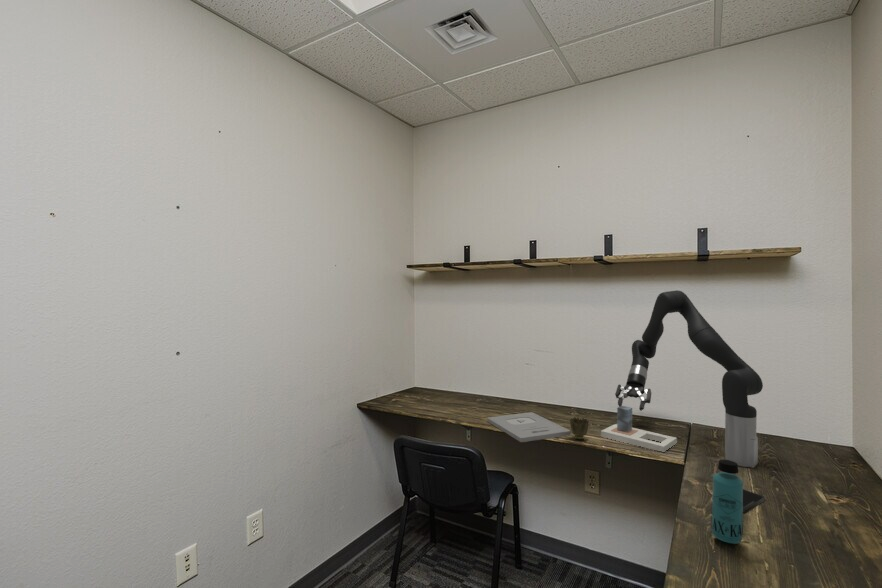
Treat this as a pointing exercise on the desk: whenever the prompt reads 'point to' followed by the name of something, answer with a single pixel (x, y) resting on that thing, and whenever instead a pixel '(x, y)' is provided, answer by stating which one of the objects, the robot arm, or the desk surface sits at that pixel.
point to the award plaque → (528, 427)
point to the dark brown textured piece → (579, 427)
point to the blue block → (624, 419)
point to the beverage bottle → (727, 503)
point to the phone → (751, 500)
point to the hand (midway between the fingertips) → (630, 407)
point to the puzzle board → (640, 438)
